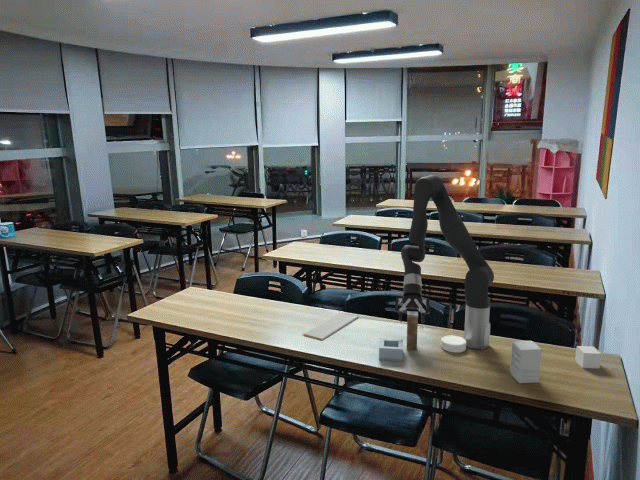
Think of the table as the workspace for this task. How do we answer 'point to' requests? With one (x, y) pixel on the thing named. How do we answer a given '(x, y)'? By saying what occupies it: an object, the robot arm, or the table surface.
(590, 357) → the white cube
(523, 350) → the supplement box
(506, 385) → the table surface
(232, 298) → the table surface
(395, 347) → the grey square collar
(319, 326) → the baseboard
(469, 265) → the robot arm
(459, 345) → the white round disc
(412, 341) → the rail post
